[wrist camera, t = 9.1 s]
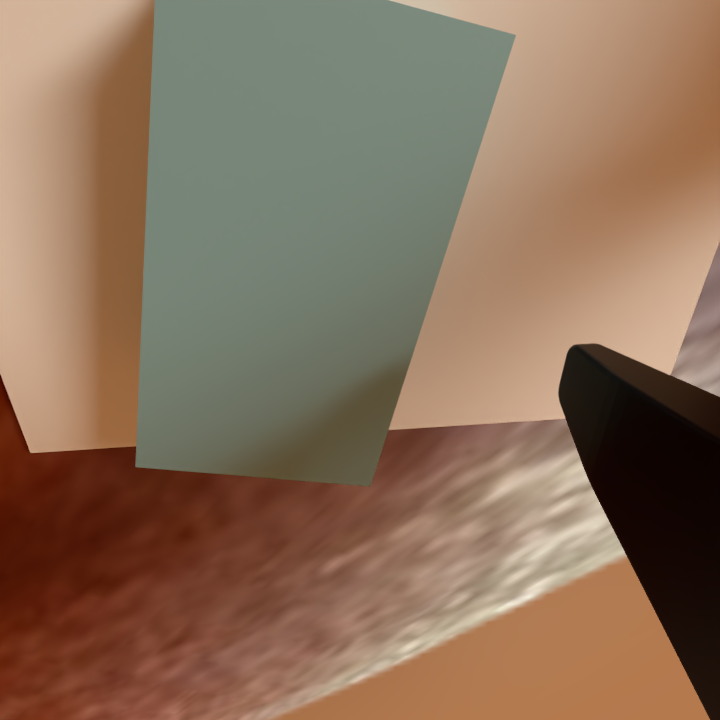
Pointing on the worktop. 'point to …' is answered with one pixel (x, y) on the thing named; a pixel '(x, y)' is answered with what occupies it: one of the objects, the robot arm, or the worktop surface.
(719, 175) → the mat
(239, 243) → the grey-green block
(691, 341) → the worktop surface
